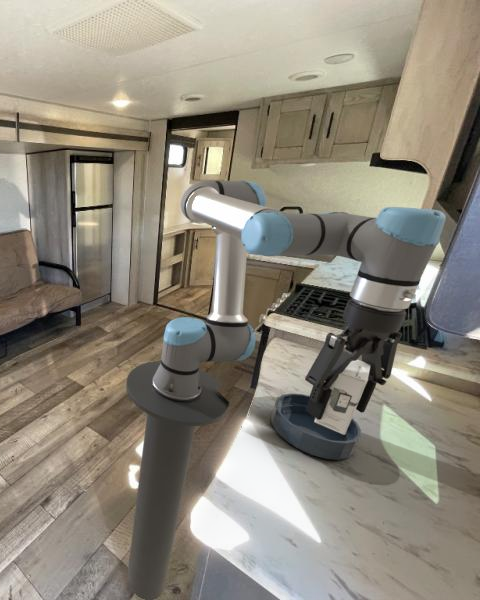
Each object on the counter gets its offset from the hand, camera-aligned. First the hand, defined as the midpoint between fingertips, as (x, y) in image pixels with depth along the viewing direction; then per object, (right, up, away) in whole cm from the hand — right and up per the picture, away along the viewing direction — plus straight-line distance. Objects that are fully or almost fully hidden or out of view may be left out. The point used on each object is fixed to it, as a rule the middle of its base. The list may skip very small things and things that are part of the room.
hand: (334, 411), depth 62 cm
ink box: (0, -2, +1) cm, 2 cm away
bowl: (+12, -14, +23) cm, 30 cm away
